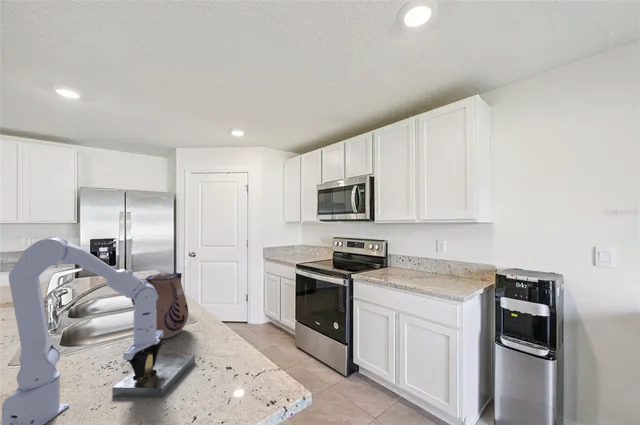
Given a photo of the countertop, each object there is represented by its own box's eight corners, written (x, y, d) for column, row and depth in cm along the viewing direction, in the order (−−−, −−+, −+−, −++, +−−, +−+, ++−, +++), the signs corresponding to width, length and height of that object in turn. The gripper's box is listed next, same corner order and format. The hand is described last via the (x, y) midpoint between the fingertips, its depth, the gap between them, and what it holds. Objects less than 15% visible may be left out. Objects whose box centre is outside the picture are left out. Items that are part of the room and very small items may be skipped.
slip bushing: (146, 382, 79) (146, 357, 79) (133, 382, 79) (133, 357, 79) (155, 374, 83) (155, 350, 83) (143, 374, 83) (143, 350, 83)
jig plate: (162, 397, 74) (162, 388, 75) (112, 396, 75) (112, 387, 75) (194, 362, 92) (195, 354, 93) (154, 361, 93) (154, 354, 93)
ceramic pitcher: (197, 331, 117) (197, 273, 117) (144, 353, 99) (145, 283, 99) (173, 323, 126) (173, 269, 126) (121, 342, 108) (121, 278, 108)
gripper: (141, 336, 74) (141, 387, 73) (172, 316, 88) (172, 359, 88) (116, 336, 74) (115, 386, 74) (151, 316, 88) (151, 358, 88)
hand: (145, 371), depth 81 cm, fingers closed on slip bushing, 4 cm apart
